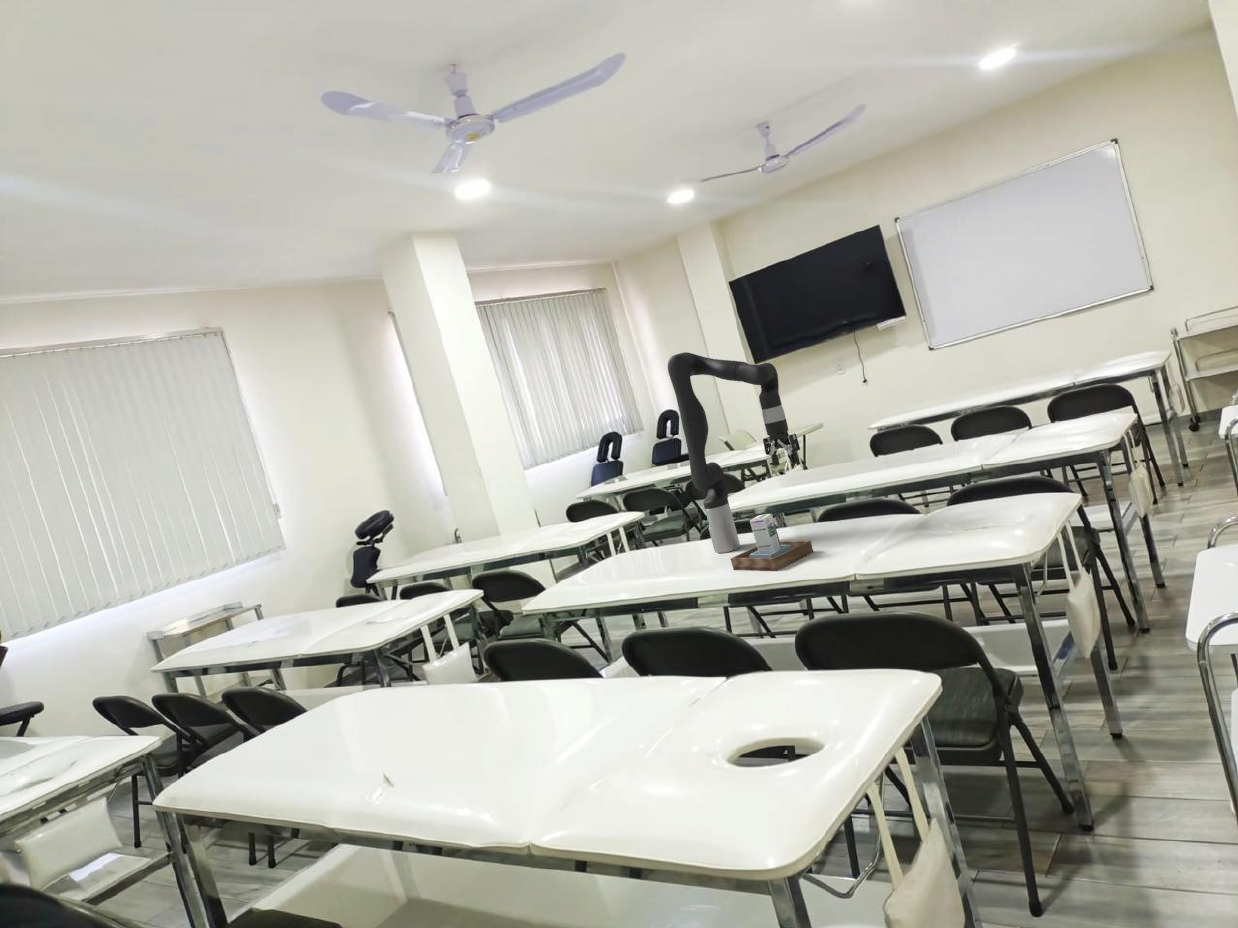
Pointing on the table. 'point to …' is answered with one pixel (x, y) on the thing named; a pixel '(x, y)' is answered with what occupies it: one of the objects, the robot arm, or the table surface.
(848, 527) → the table surface
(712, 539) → the robot arm
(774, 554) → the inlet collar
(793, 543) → the walnut tray
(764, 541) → the syrup box
